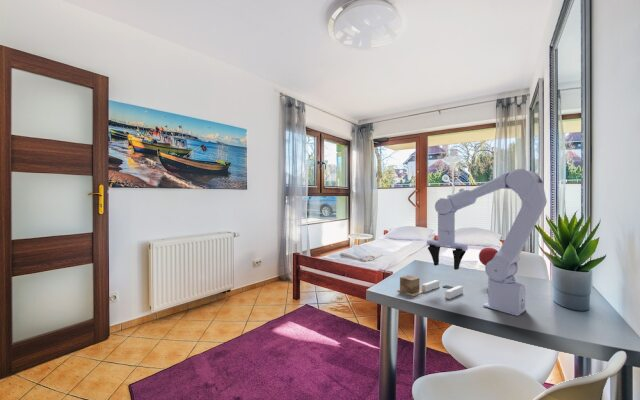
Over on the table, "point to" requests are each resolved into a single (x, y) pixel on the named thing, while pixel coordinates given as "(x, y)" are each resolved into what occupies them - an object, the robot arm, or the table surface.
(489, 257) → the lollipop
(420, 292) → the pad
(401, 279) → the block
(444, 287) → the trap pad
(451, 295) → the channel
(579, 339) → the table surface
